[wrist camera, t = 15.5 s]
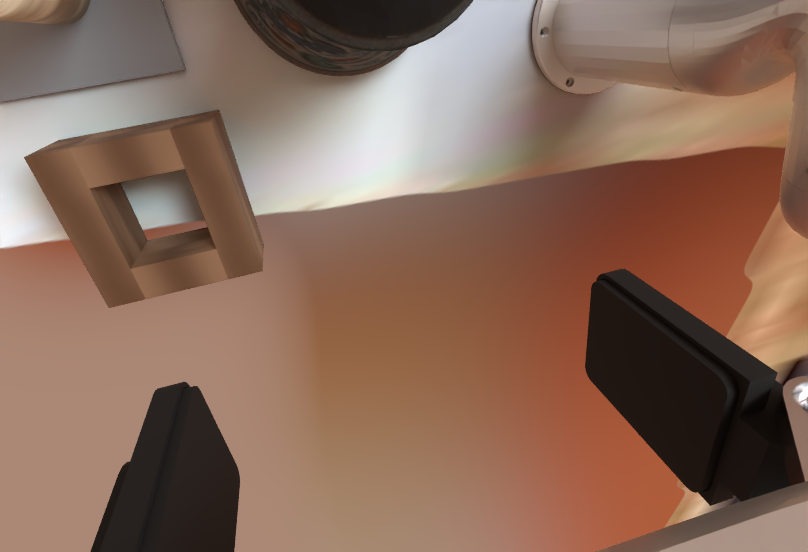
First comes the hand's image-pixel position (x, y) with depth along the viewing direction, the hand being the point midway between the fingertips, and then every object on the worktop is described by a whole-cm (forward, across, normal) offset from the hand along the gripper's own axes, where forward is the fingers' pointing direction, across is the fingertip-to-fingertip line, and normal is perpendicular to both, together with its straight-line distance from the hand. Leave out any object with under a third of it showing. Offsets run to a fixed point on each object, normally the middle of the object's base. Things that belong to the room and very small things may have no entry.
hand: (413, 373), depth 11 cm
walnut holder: (+36, +14, +4) cm, 39 cm away
